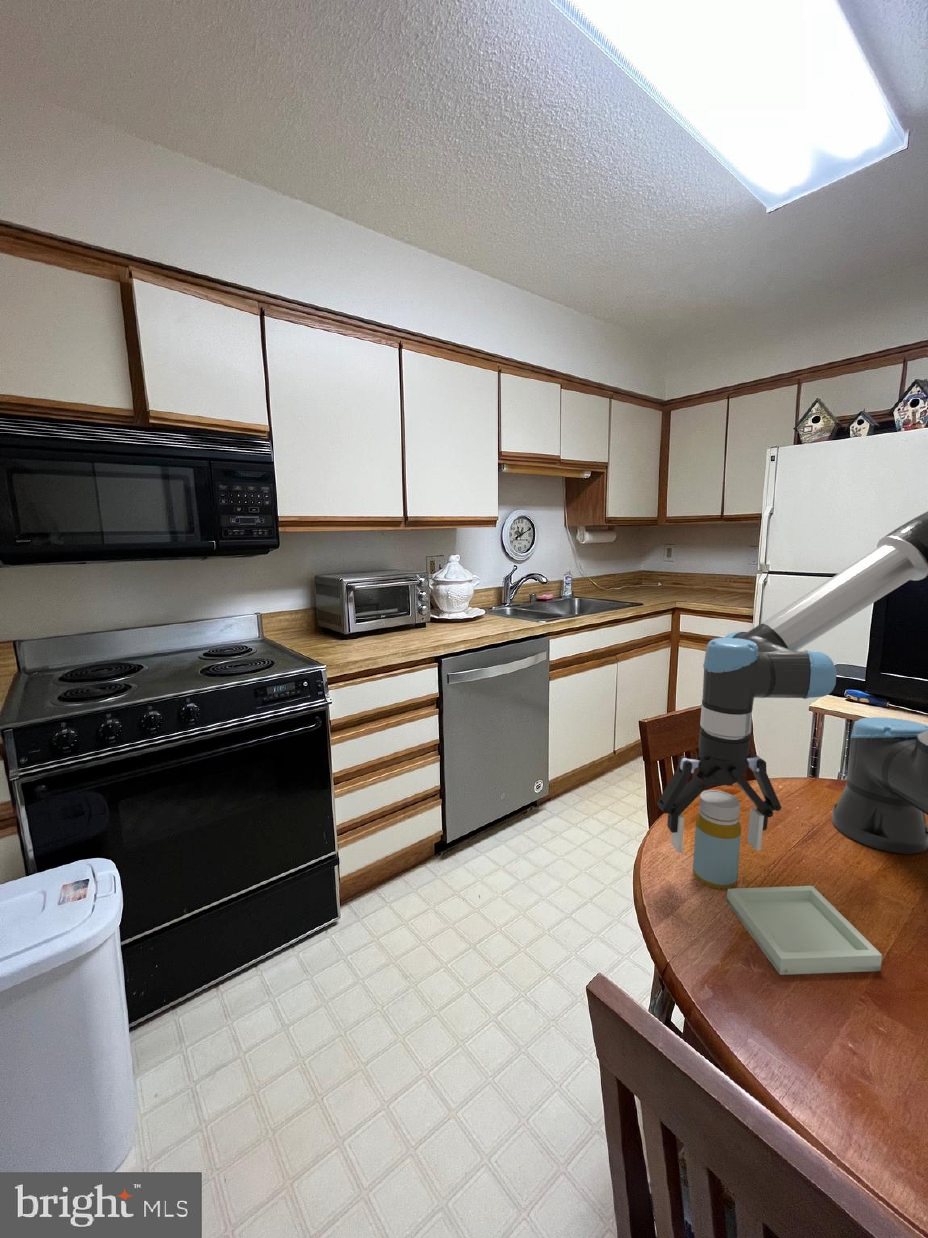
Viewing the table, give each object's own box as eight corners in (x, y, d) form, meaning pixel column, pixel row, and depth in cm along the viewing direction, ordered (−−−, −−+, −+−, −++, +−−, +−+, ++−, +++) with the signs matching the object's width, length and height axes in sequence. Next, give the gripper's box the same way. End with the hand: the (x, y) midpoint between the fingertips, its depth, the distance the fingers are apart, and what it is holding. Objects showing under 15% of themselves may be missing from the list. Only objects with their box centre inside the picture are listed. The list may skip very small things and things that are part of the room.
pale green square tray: (810, 899, 85) (812, 885, 85) (880, 971, 71) (882, 955, 71) (726, 902, 85) (727, 888, 84) (779, 975, 71) (781, 959, 71)
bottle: (742, 894, 87) (748, 811, 84) (697, 889, 88) (703, 808, 85) (730, 867, 93) (735, 790, 91) (688, 863, 95) (693, 787, 92)
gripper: (784, 721, 90) (772, 832, 94) (642, 724, 90) (636, 836, 93) (813, 738, 83) (800, 859, 86) (659, 741, 82) (652, 862, 86)
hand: (715, 847), depth 90 cm, fingers open, 13 cm apart
